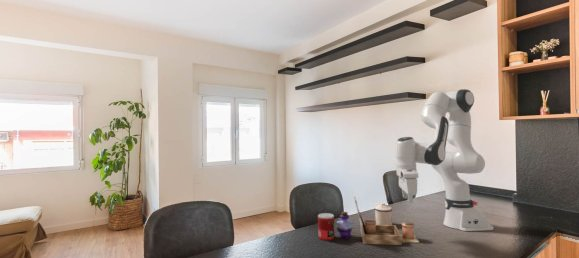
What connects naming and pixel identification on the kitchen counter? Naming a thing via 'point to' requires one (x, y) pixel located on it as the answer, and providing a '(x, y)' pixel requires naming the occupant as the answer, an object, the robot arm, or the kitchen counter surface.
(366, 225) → the pot far
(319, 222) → the canned food
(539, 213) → the kitchen counter surface
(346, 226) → the potion bottle
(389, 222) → the teacup with lid
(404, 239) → the cork mat
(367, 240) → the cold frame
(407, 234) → the pot near
